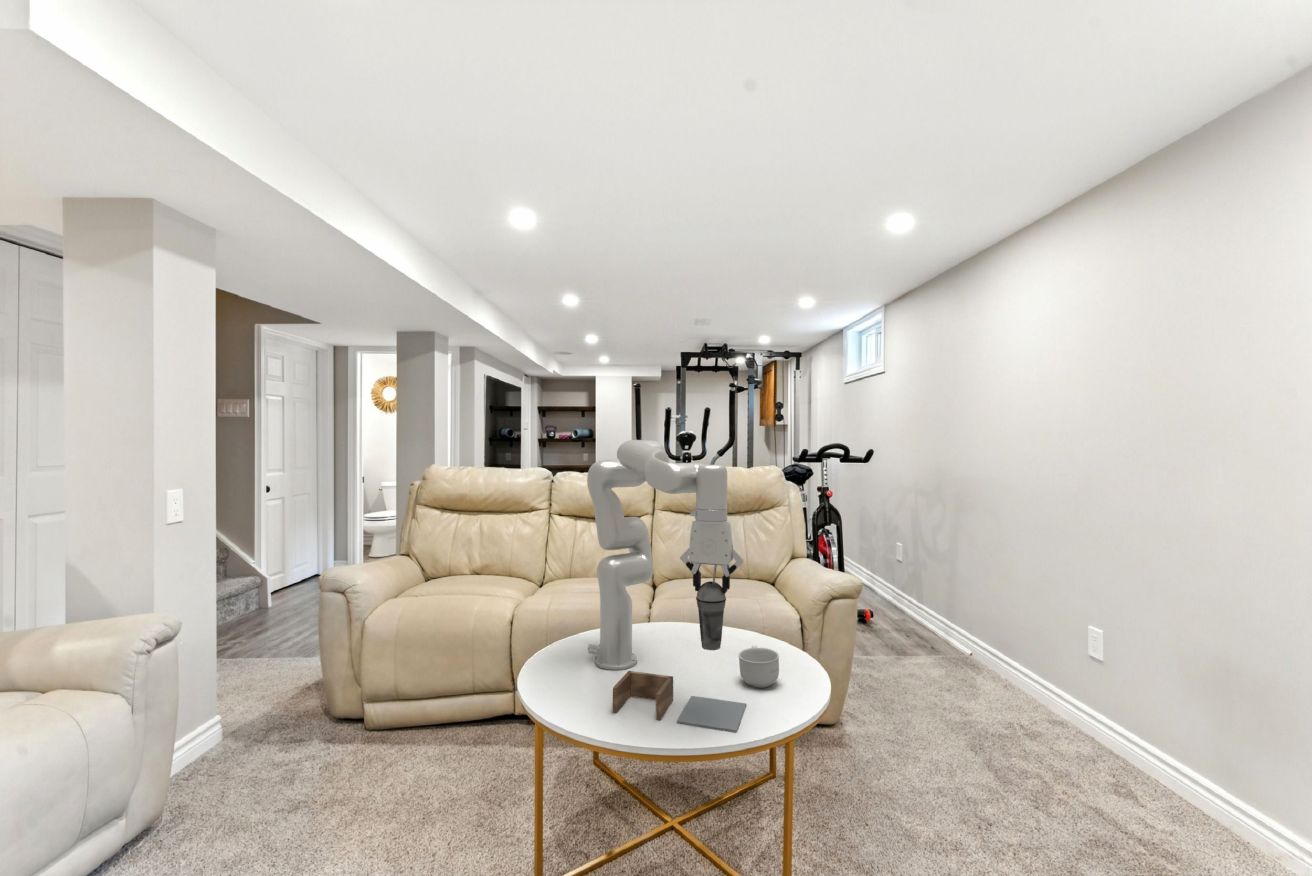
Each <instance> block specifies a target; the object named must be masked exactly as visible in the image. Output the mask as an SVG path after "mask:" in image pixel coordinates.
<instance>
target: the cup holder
mask: <svg viewBox="0 0 1312 876" xmlns="http://www.w3.org/2000/svg"><path fill="white" fill-rule="evenodd" d="M631 697H636V698H641V699H648V700H655V703H656V704H655V705H656V706H655V709H656V710H655V711H656V712H655V720H656V721H661V720H662V719H663V717H664V716H665V714H666V712H667V710H669V707H671V705H672V703H673V702H674V676H671V675H663V674H657V673H649V672H642V671H641V672H640V671H633V670H628V671H627V672H626V673H625V674H624V675H623V676H622V677H621V678H620V680H618V681H617V682H616V684H615V685H613V687H612V714H618V713H619V711H620V710H621V709H622V708H623V706H624V705H625V704H626V702H628V700H629V699H630V698H631Z"/></svg>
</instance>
